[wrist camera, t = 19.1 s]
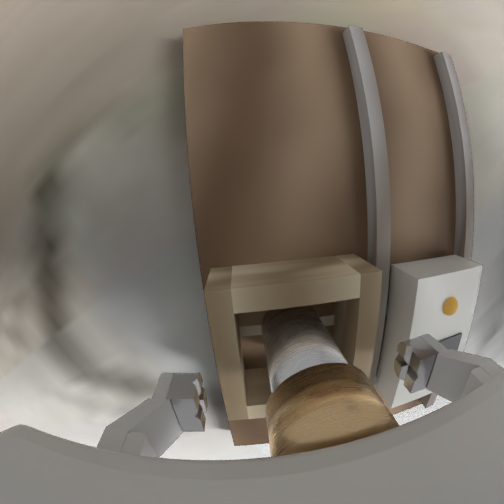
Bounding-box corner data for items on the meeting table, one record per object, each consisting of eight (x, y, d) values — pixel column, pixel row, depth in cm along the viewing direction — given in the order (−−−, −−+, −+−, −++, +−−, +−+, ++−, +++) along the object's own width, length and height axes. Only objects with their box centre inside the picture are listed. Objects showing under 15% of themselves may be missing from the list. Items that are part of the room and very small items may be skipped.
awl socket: (353, 253, 13) (382, 271, 10) (346, 367, 15) (364, 398, 12) (210, 268, 13) (203, 291, 10) (228, 383, 14) (228, 420, 11)
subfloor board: (430, 61, 12) (451, 50, 9) (420, 390, 18) (433, 407, 15) (187, 41, 11) (179, 18, 9) (234, 431, 17) (234, 455, 15)
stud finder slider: (454, 254, 13) (488, 268, 10) (433, 364, 15) (456, 387, 12) (391, 264, 13) (424, 283, 10) (375, 384, 14) (394, 413, 12)
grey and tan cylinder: (323, 289, 13) (415, 400, 5) (323, 350, 14) (384, 471, 6) (252, 298, 13) (270, 435, 5) (258, 358, 14) (275, 497, 6)
